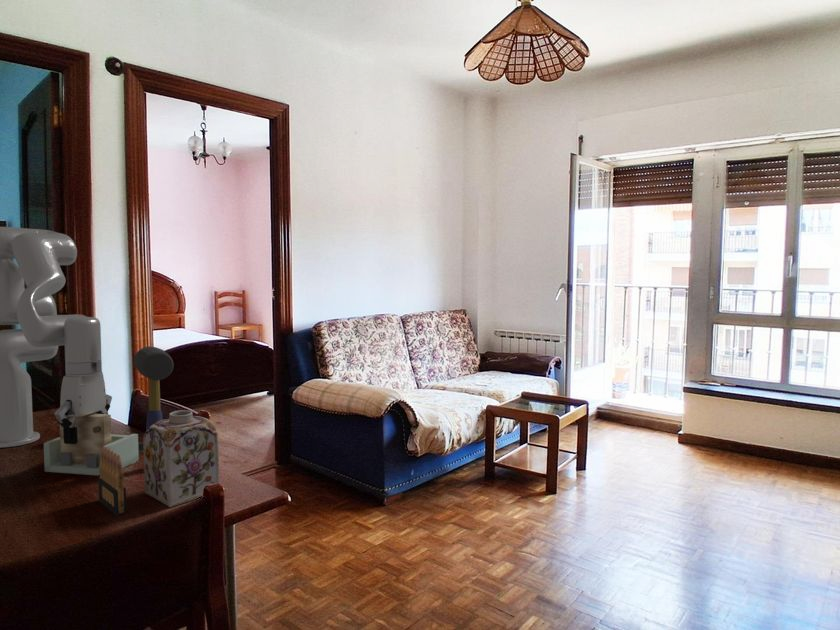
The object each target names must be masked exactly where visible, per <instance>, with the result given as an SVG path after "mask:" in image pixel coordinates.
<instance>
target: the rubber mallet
mask: <svg viewBox="0 0 840 630" xmlns="http://www.w3.org/2000/svg"><path fill="white" fill-rule="evenodd" d="M133 363H134V366H135V368H136V370H137V371H138V372H139V374H141V376H143V377H144V378H146V379H148V411H147V413H146V422H145V423H146V426H145V427H146V431H147V430H148V429H149V428H150V426H152V425H153V424H154V423H156V422H157V421H160V420H164V419H163V418H164V417H163V411H162V409H161V408H162V407H161V388H160V387H161V385H160V383H161V382H160V381H162V380H164V379H166V378H168V377H169V376H170V375H171V374H172V372H173V370H174V360H173V359H172V357H171V355H170V354H169V353H167V352H166V350H164V349H161V348H159V347H156V346H145V347H143V348H140V349H139V350H138V351H137V352H136V353H135V355H134V358H133ZM146 431H145V432H146Z"/></svg>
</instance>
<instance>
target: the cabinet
mask: <svg viewBox="0 0 840 630" xmlns="http://www.w3.org/2000/svg"><path fill="white" fill-rule="evenodd" d="M111 441H112V443H110V444H108V445H105V447H107V448H108V449H110V450H111V451H113V452H114V453H116V454H117V456H118V455H120V457H121V461H122V469H123V468H124V469H125V467H126V466H128V465H130V464H131V465H133V464H135V463H137V462H139V461H140V460H139V459H140V457H139V456H140V455H139V454H140V453H138V442H139V433H131V434H129V435H127V434H113V433H111ZM43 460H44V461H43V462H44V463H43V464H44V472H45V473H48V472H49V473H59V474H60V473H61V474H74V475H86V476H87V475H89V476H99V475H100V470H99V465H98V455H96V454H88V455H87V465H86V464H72V453H67V452H62V453H61V449H60V436H59V437H56V438H54V439H50V440H48V441H46V442H44V443H43ZM138 460H139V461H138ZM136 461H137V462H136ZM131 465H130V466H131ZM128 467H129V466H128ZM126 468H127V467H126ZM124 469H123V470H124Z"/></svg>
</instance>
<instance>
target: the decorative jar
mask: <svg viewBox="0 0 840 630" xmlns="http://www.w3.org/2000/svg"><path fill="white" fill-rule="evenodd" d="M193 414H194V413H193V411H191V410H185V409H184V410H181V409H180V410H174V411H172V412H169V415H168V417H169V418H165V419H163V420H160V421H157V422H156V423H154V424H153V425H152V426H150V428H149V429H148V430H147V431H145V432H144V434H142V435H143V440H142V442H143V451H144V452H143V481H144V492H145V495H147V496H150V497H151V498H153V499H155V500H156V501H158V502H161V503H162V504H164V505H165V506H167V507H169V508H173V507H175V506H179V505H181V504H184V503H185V504H186V503H187V502H191V501H194V500H195V501H196V500H197V498H198V499H200V498H199V497H201V496H202V492H203V489H204V487H205V486H207V485H209V484H215V483H219V484H220V457H219V456H220V455H219V454H220V453H219V451H220V450H219V448H220V447H219V437H218V436H219V432H218V431H217V429H216V427H215V426H214V424H213V422H212V421H211V419H209V418H206V417H203V416H198V415H193ZM201 498H202V497H201Z"/></svg>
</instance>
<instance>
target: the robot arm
mask: <svg viewBox="0 0 840 630" xmlns="http://www.w3.org/2000/svg"><path fill="white" fill-rule="evenodd" d="M77 257H78V249H77V246H76V244H75V241H74V240H73V239H72V238H71V237H70V236H69V235H67V234H65V233H60V232H57V231H54V230H49V229H40V228H28V227H27V228H26V227H25V228H24V227H13V226H0V326H1V325H3V326H7V325H8V326H10V325H12V326H13V325H19V327H20V328H13V329H2V330H0V449H3V448H12V447H18V446H23V445H24V446H25V445H28V444H31V443H34V442H37V441H38V440H39V439H40V438H41V434H40V432H38V431H34V419H33V395H32V394H33V393H32V392H33V391H32V378H31V376H30V374H29V373H28V371H26V369H24V368H23V366H22V365H21V364H24V363H30V362H39V361H45V360H50V359H53V358H54V357H55V356H57V353H58V351H59V346H60V347H62V346H64V361H65V362H64V363H65V364H64V365H65V375H64V376H63V378H62V381H61V387H60V402H59V403H60V406H59V407H58V409H56V410H55V412H54V417H55V418H56V420H57V423H58V424H59V426H60V425H61V427H62V428H63V435H64V443H65V444H77V443H78V435H77V427H75V425H76V423H77V421H78V419H79V418H81V417H84V416H87V415H90V414H93V413H94V414H109V410H110V408H111V403H112V400H113V396H112V395H109V394H107V392H106V391H107V390H106V383H105V379H104V373H103V368H102V367H103V366H102V364H103V362H102V336H101V334H102V333H101V328H102V327H101V322H100V320H99V318H97V317H95V316H94V317H93V316H86V315H84V314H79V313H78V314H77V313H75V314H57V313H58V312H57V303H56V300H55V298H54V297H53V296H52V295H55V294H57V292H59V291H61V290H62V288H64V286H65V284H66V282H67V281H66V277H65V274H64V272H63V271H62V268H61V266H70V265H72V264H74V263H75V262H76V260H77ZM13 259H14V260H15V262H16V263H15V262H14V261H13ZM25 285H26V288H25ZM70 418H73V419H72V421H71V422H70V421H69V420H70Z"/></svg>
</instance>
